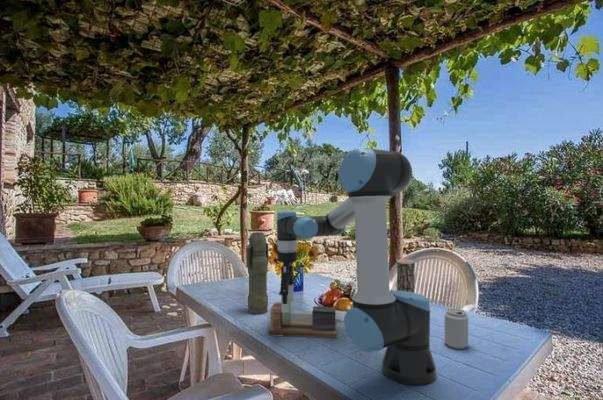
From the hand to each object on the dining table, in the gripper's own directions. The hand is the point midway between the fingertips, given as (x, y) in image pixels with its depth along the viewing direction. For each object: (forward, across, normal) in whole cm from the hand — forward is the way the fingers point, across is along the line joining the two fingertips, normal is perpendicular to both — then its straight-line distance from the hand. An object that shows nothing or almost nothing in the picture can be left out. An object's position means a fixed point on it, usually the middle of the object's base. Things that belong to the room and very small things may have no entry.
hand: (287, 306), depth 135 cm
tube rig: (+9, 0, +6) cm, 11 cm away
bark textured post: (+10, -13, +47) cm, 49 cm away
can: (+10, +8, +60) cm, 61 cm away
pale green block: (+6, 0, +3) cm, 7 cm away
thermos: (+9, -20, -16) cm, 28 cm away
